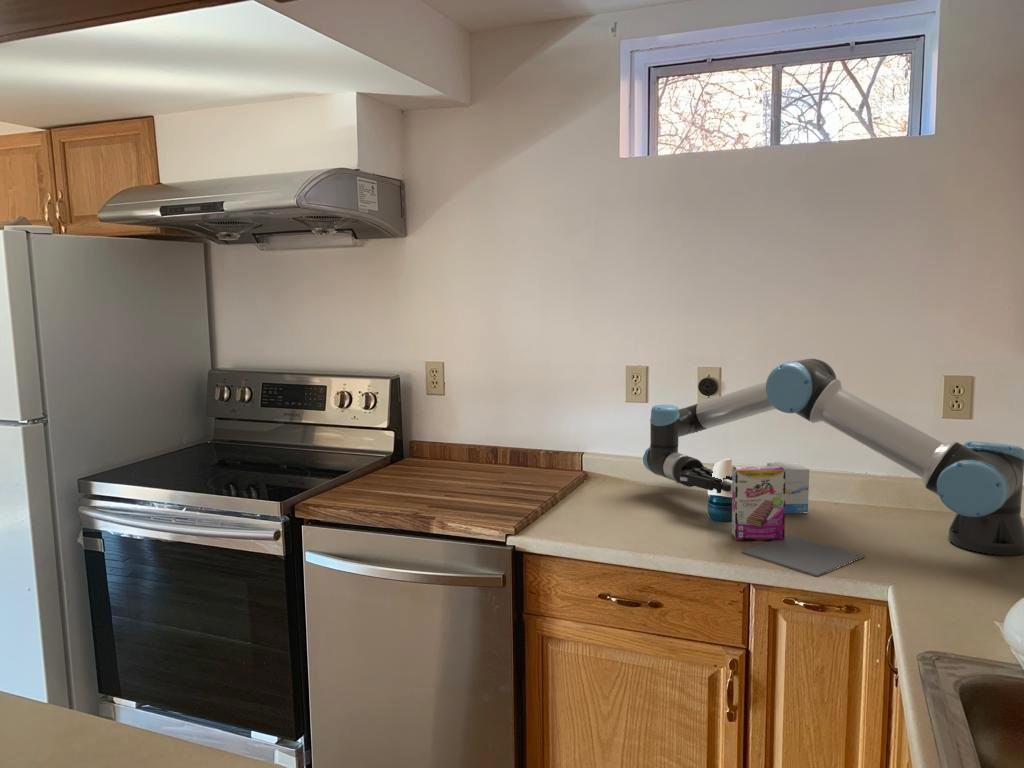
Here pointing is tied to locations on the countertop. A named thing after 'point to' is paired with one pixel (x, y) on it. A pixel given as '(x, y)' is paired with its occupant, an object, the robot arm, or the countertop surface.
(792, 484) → the ink box
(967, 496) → the robot arm
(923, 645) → the countertop surface
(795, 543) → the mat
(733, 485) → the candy bar box
